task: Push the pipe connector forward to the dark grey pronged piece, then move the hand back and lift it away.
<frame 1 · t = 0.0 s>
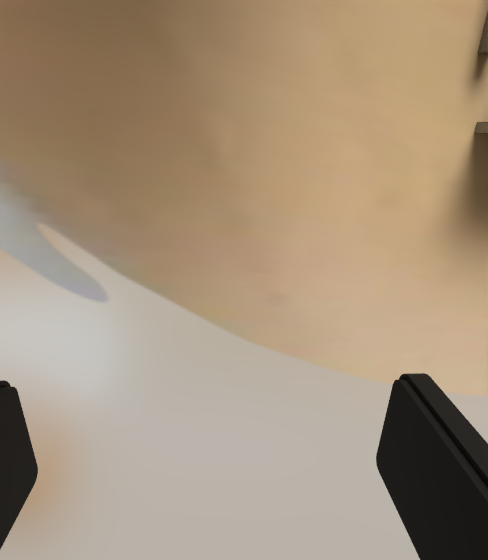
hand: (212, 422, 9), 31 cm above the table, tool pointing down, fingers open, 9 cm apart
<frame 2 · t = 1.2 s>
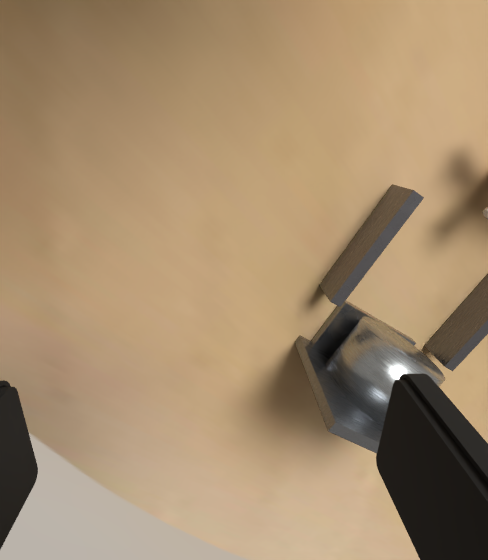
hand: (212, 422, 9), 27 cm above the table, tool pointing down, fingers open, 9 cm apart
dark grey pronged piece: (361, 339, 40), on the table
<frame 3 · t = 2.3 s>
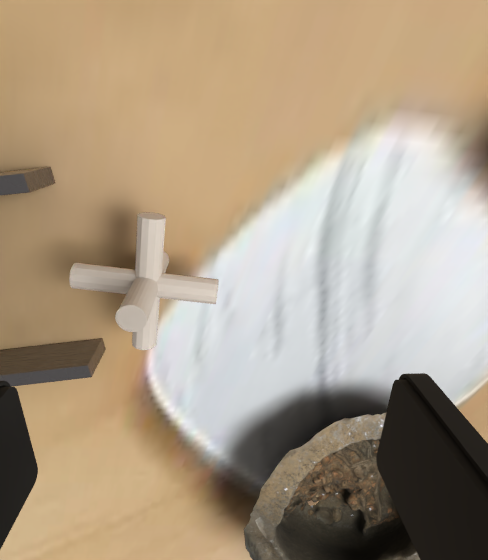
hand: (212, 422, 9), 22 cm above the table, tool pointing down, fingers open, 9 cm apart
stone bowl: (348, 458, 42), on the table
pipe connector: (158, 258, 30), on the table
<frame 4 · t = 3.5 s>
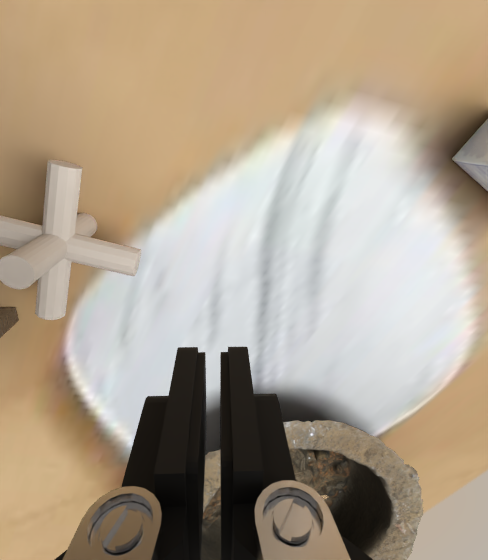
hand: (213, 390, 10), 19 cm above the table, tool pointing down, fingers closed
stone bowl: (281, 469, 39), on the table
pipe connector: (85, 224, 27), on the table
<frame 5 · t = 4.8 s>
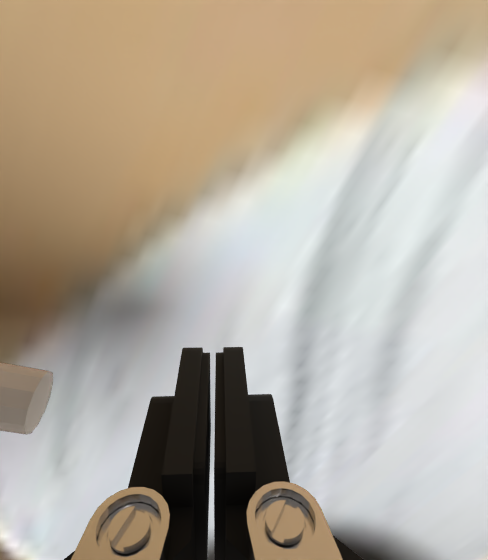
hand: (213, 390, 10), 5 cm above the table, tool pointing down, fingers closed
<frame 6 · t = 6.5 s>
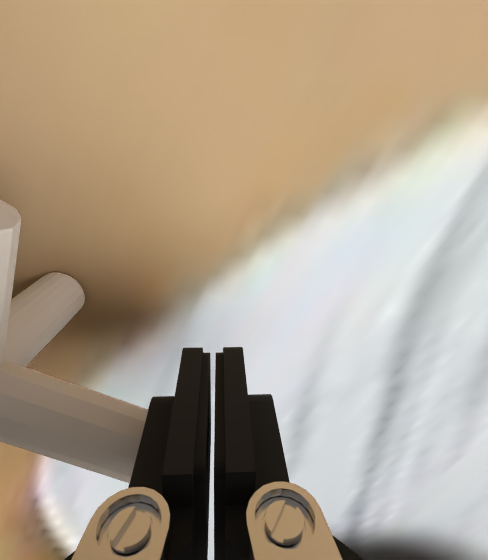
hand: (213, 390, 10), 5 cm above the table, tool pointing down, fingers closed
pipe connector: (64, 291, 14), on the table, touching gripper
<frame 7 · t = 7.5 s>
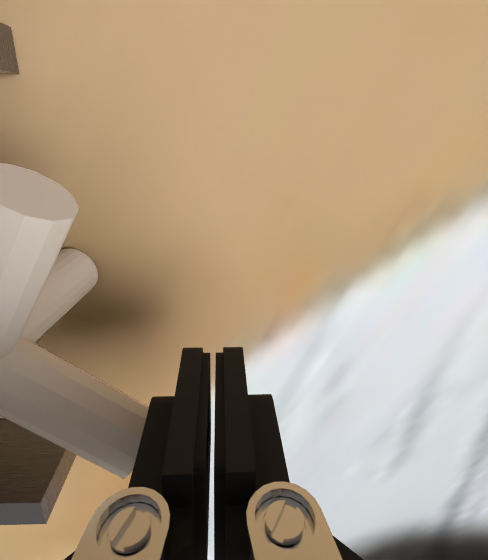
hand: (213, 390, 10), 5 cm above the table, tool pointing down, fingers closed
pipe connector: (77, 268, 14), on the table, touching gripper
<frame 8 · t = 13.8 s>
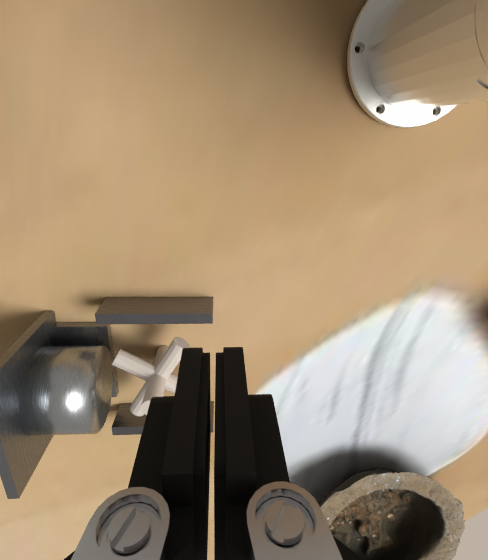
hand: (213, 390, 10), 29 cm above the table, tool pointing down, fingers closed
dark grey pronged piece: (89, 358, 43), on the table
stone bowl: (362, 496, 57), on the table
pipe connector: (164, 351, 44), on the table
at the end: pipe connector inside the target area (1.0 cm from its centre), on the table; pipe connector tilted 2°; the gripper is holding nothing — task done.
